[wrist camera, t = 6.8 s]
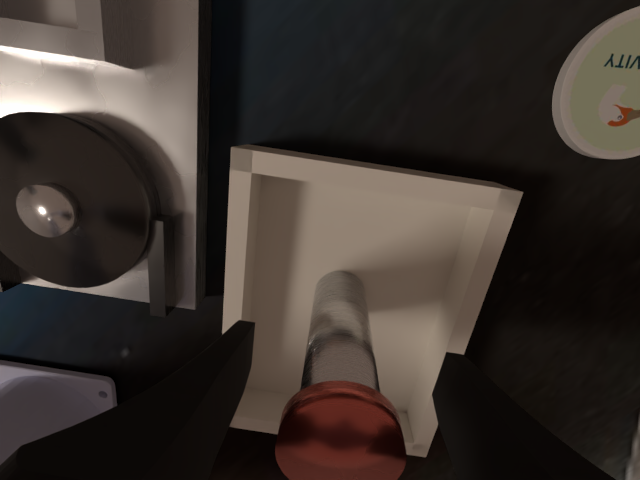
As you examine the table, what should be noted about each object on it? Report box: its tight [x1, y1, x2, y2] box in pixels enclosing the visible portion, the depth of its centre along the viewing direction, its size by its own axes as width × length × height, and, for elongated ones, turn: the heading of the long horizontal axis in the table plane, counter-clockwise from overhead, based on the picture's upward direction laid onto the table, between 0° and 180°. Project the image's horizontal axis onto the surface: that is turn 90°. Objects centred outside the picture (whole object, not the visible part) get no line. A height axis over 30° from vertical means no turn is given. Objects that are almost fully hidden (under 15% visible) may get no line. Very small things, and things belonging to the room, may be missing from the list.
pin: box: [275, 271, 407, 480], centre depth 11 cm, size 3×3×8 cm
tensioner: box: [0, 0, 212, 317], centre depth 12 cm, size 16×10×3 cm, turn 172°
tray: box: [222, 144, 523, 457], centre depth 15 cm, size 14×11×2 cm
